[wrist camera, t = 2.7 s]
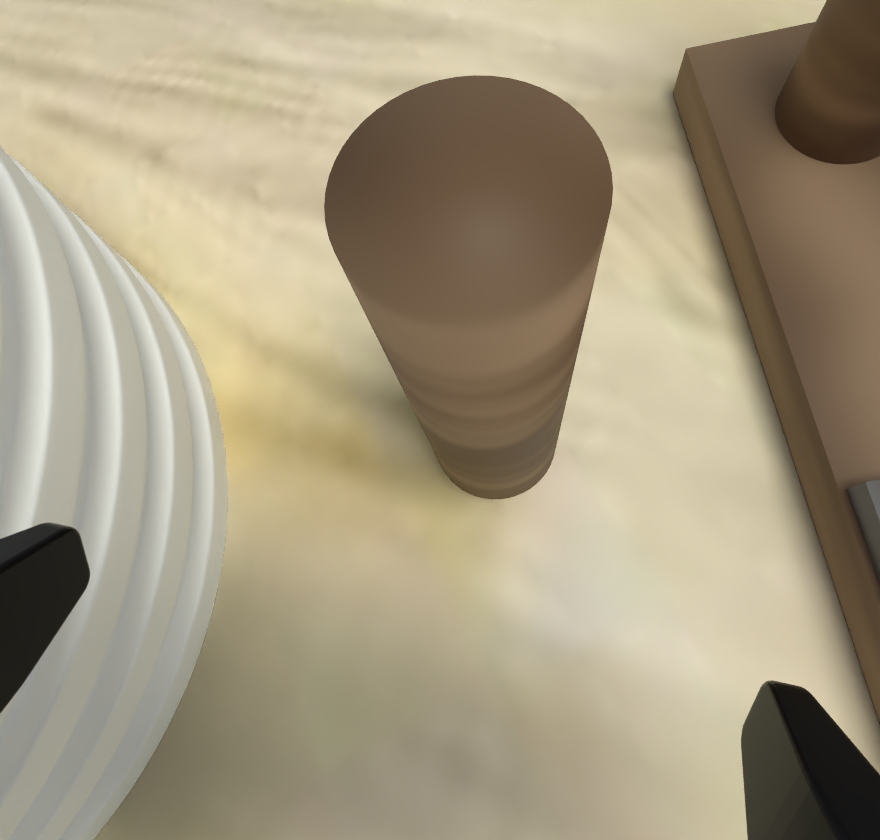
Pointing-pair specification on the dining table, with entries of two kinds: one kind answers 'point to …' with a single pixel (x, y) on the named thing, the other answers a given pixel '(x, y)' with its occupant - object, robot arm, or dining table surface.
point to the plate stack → (100, 508)
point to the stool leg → (476, 263)
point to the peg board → (808, 260)
